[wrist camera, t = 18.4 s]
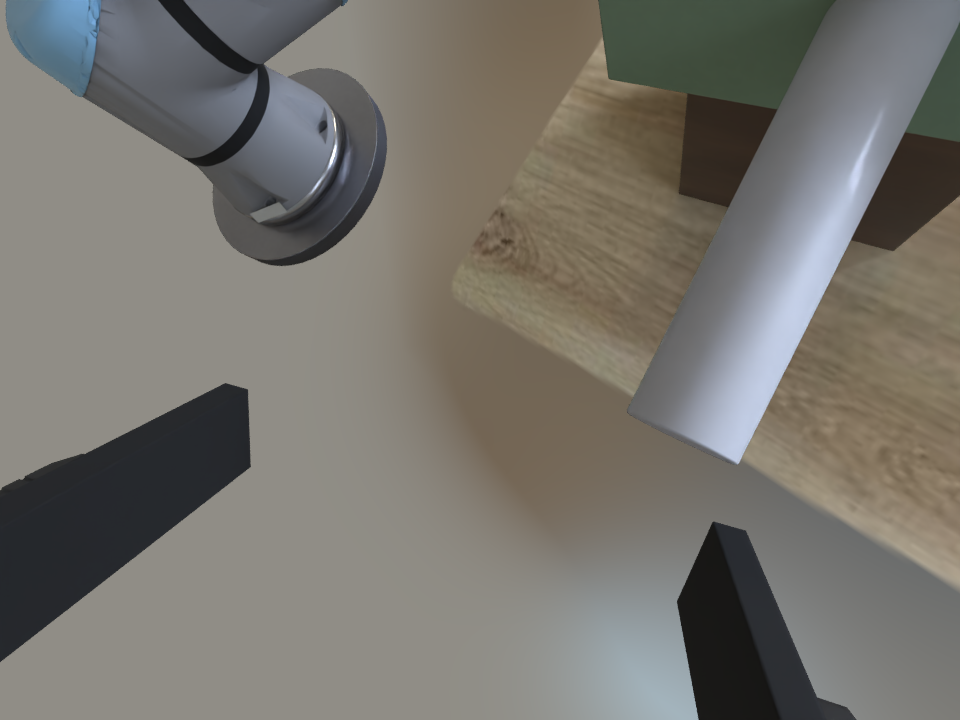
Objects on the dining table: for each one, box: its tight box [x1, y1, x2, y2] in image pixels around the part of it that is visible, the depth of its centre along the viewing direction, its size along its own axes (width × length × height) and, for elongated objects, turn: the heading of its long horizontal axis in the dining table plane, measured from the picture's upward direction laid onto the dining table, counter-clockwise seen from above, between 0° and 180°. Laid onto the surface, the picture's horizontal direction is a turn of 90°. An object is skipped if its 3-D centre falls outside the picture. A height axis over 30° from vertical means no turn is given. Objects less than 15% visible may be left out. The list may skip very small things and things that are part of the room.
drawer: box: [598, 0, 960, 465], centre depth 10 cm, size 22×14×6 cm, turn 151°
